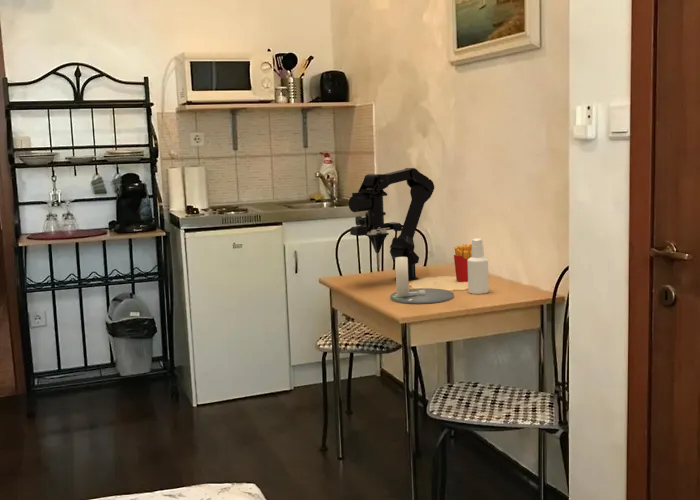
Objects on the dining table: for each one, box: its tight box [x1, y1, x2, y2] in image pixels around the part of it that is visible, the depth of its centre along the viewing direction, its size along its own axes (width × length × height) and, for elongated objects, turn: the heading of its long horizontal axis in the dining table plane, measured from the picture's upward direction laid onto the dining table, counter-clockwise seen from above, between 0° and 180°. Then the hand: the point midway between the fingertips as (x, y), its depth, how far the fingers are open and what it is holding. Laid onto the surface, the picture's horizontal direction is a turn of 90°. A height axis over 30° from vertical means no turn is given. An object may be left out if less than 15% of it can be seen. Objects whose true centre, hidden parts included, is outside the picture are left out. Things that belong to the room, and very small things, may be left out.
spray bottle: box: [467, 237, 490, 295], centre depth 261 cm, size 7×7×18 cm
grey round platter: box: [390, 287, 455, 305], centre depth 258 cm, size 21×21×2 cm
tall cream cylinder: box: [394, 257, 418, 297], centre depth 255 cm, size 8×4×13 cm, turn 112°
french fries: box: [453, 243, 472, 283], centre depth 282 cm, size 9×4×13 cm, turn 112°
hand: (377, 252), depth 279 cm, fingers closed
